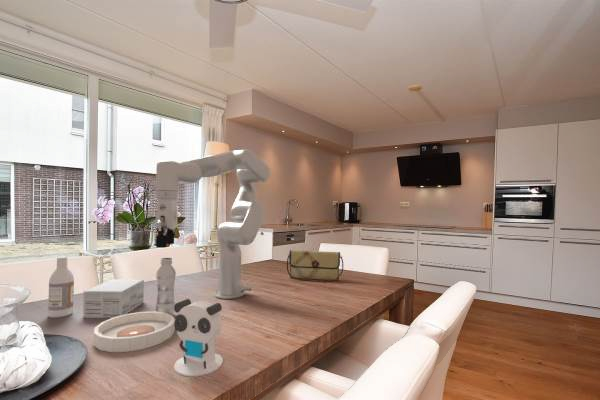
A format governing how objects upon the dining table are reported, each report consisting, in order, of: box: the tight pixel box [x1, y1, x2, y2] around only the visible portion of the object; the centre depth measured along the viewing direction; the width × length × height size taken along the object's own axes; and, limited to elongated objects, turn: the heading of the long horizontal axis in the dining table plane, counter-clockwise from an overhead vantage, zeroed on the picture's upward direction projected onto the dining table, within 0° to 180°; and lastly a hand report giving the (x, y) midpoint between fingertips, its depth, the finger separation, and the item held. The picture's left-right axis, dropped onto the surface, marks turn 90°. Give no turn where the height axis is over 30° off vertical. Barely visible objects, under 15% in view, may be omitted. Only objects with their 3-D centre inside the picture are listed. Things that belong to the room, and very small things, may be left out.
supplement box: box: [82, 278, 145, 319], centre depth 117 cm, size 17×13×9 cm
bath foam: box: [47, 256, 75, 319], centre depth 111 cm, size 7×7×20 cm
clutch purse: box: [286, 249, 344, 283], centre depth 166 cm, size 30×7×15 cm, turn 81°
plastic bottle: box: [154, 257, 177, 316], centre depth 111 cm, size 6×7×20 cm
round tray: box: [93, 311, 176, 353], centre depth 94 cm, size 21×21×4 cm
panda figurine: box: [173, 298, 223, 377], centre depth 78 cm, size 12×11×15 cm
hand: (165, 245), depth 111 cm, fingers open, 9 cm apart
